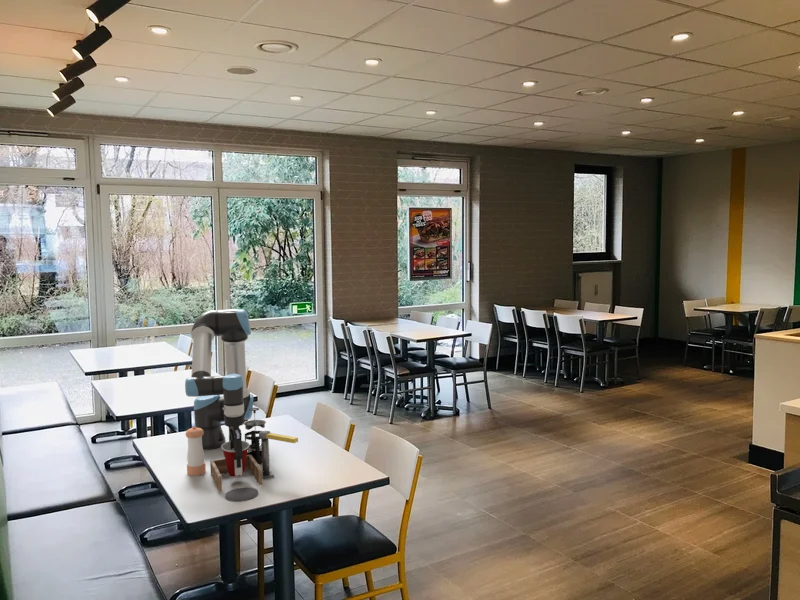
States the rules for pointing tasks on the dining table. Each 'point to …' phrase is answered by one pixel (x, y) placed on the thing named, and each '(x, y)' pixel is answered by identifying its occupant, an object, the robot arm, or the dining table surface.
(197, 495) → the dining table surface
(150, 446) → the dining table surface
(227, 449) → the plastic cup
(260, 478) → the walnut holder
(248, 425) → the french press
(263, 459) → the post
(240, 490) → the pad
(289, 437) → the arm
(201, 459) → the pepper shaker
